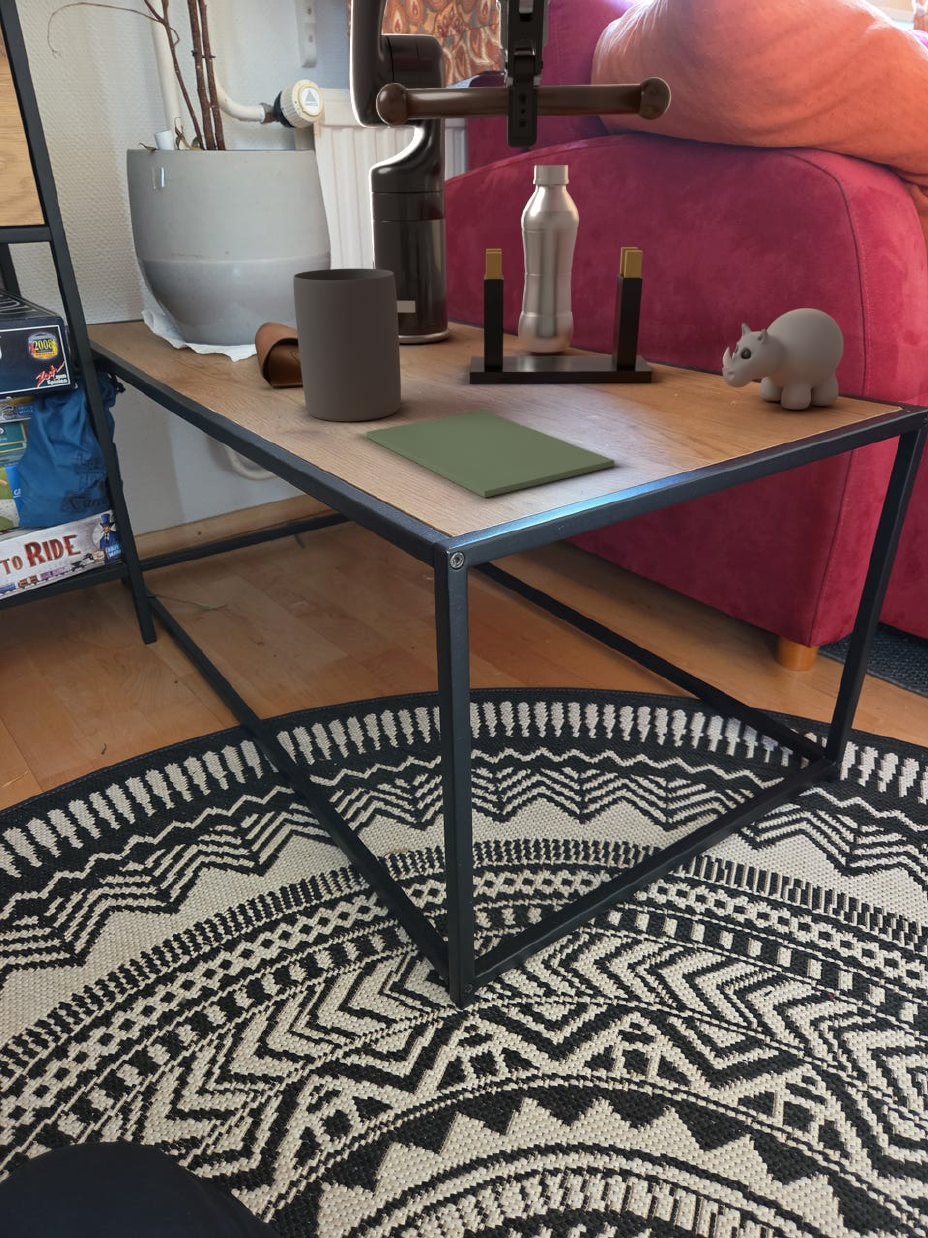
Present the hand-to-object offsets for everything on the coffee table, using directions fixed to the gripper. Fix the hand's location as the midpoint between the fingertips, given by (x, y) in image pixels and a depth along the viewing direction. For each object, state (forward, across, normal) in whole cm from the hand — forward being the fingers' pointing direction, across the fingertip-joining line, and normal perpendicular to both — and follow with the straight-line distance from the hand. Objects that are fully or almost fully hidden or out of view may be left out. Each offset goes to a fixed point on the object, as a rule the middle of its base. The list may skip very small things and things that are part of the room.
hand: (521, 145), depth 66 cm
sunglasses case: (+21, -23, -25) cm, 40 cm away
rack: (+21, -19, +5) cm, 29 cm away
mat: (+22, +8, -3) cm, 24 cm away
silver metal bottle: (+21, -30, +4) cm, 38 cm away
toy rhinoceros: (+22, -5, +24) cm, 33 cm away
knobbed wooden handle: (-3, 0, 0) cm, 3 cm away
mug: (+22, -7, -16) cm, 28 cm away
